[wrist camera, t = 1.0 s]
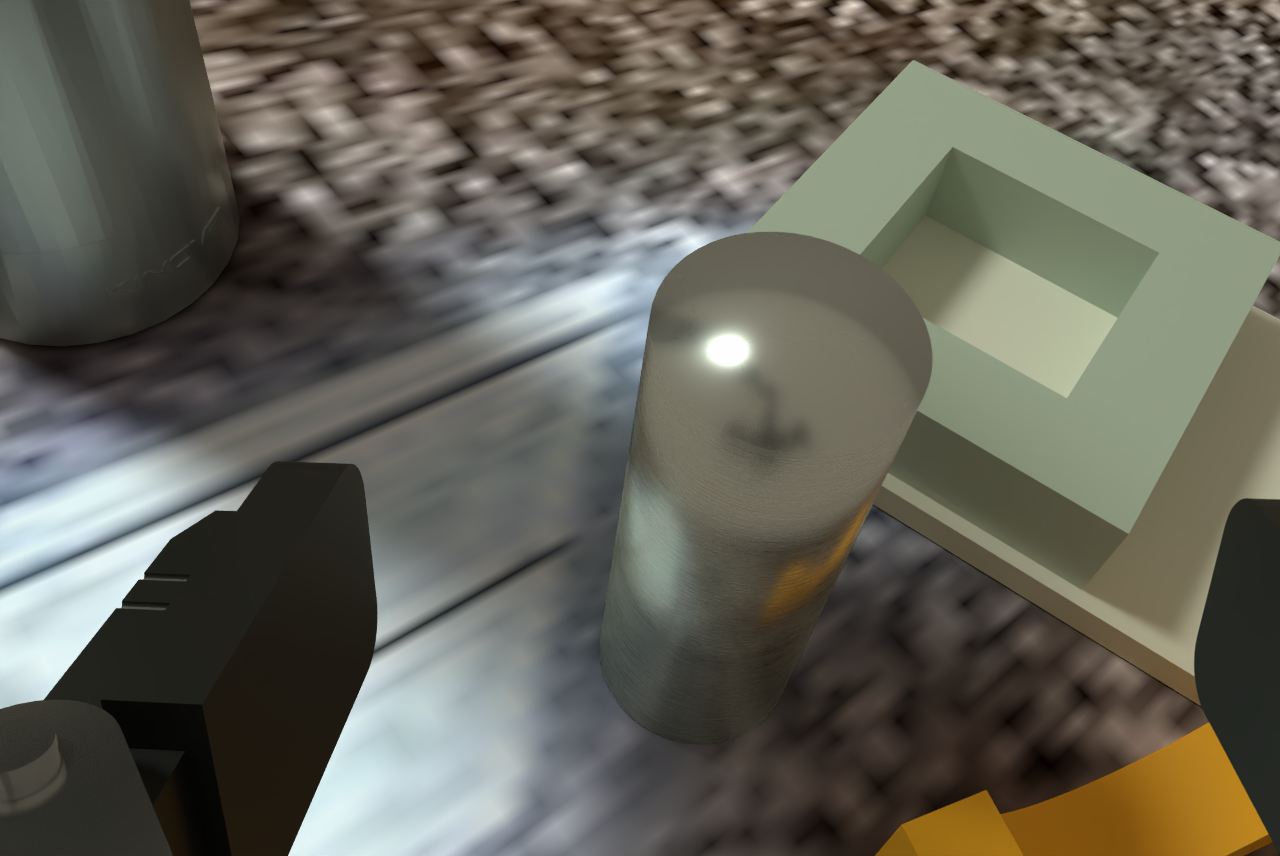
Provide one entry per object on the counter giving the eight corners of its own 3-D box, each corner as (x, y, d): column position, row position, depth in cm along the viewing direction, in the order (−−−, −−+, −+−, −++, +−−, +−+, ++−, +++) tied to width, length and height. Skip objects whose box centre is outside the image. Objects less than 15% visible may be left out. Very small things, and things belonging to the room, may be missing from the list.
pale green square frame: (659, 372, 37) (674, 284, 34) (876, 137, 44) (907, 46, 41) (1215, 715, 32) (1295, 650, 29) (1358, 388, 39) (1435, 307, 36)
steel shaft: (560, 667, 31) (591, 349, 21) (670, 535, 34) (747, 192, 23) (722, 783, 30) (844, 507, 19) (823, 636, 32) (980, 321, 22)
